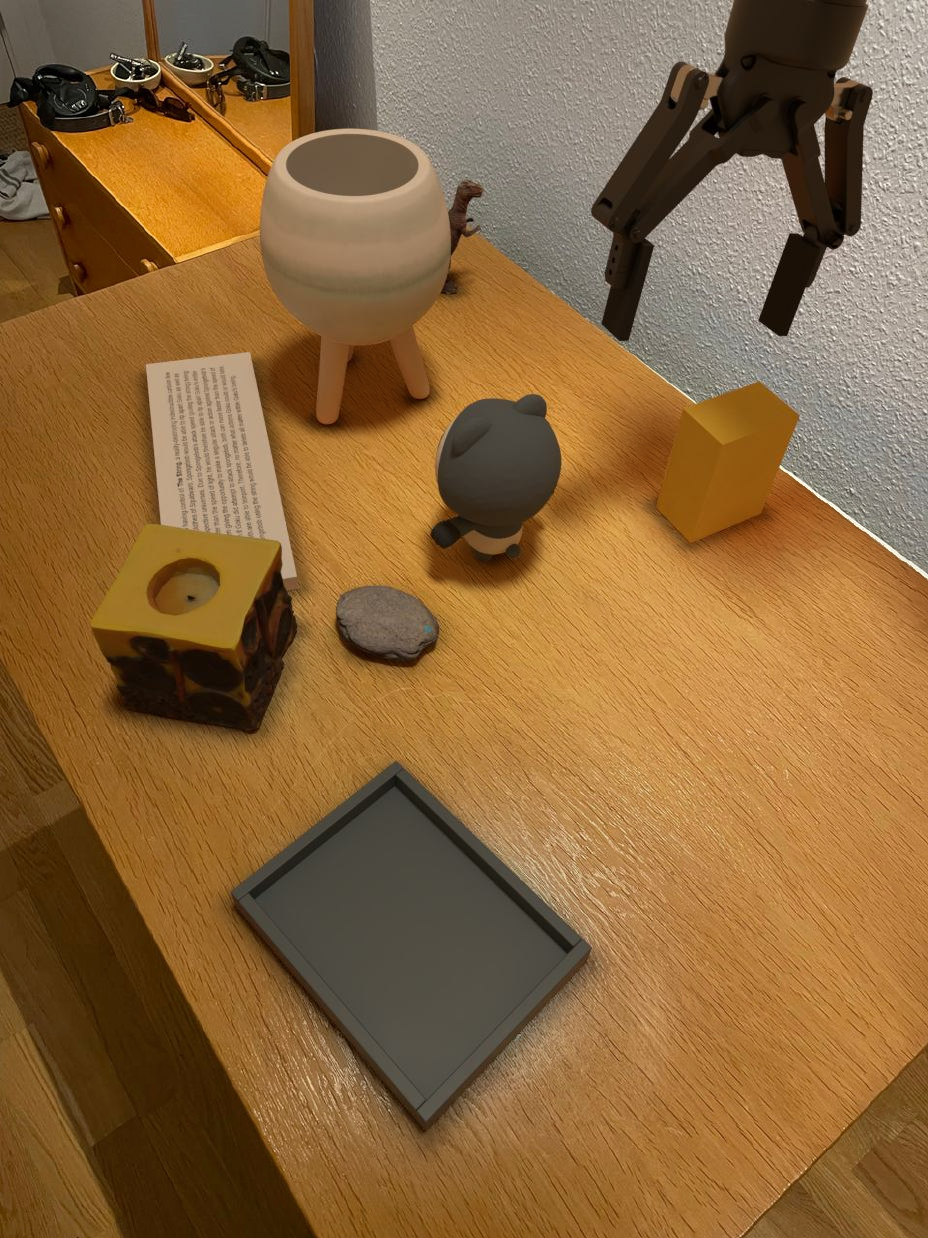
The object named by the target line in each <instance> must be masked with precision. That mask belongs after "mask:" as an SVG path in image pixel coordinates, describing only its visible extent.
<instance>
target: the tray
mask: <svg viewBox="0 0 928 1238" xmlns="http://www.w3.org/2000/svg"><path fill="white" fill-rule="evenodd" d="M230 895H231V898H232V901H233V903H234V906H235V908H236V909H237V910H238V912H239V913H240V914H241V915H242V916H243V917H244V918H245V920H246V921H247V922H248V923H249V924H250V926H251V927H252V928H253V929H254V931H256V933H257V934H258V936H260V938H261V939H262V940H263V942H265V943H266V945H267V946H268V947H269V949H271V950H272V952H273V953H274V954H275V955H276V956H277V958H278V959H279V960H280V962H282V964H283V965H284V966H285V967H286V968H287V970H288V971H289V972H290V973H291V974H292V976H293V977H294V978H295V980H297V981H298V983H299V984H300V985H301V986H302V987H303V988H304V990H305V991H306V992H307V993H308V994H309V995H310V997H311V998H312V999H313V1000H314V1002H315V1003H316V1004H317V1005H318V1006H319V1008H320V1009H321V1010H322V1011H323V1013H325V1014H326V1016H327V1017H328V1018H329V1019H330V1020H331V1022H332V1023H333V1024H334V1025H335V1026H336V1027H337V1029H338V1030H339V1031H340V1032H341V1033H342V1035H343V1036H344V1037H345V1038H346V1040H347V1041H348V1042H349V1043H350V1044H351V1045H352V1047H353V1048H354V1049H355V1050H356V1051H357V1053H358V1054H359V1055H360V1056H361V1057H362V1058H363V1060H364V1061H365V1062H366V1063H367V1064H368V1065H369V1067H370V1068H371V1070H373V1071H374V1072H375V1074H376V1075H377V1076H378V1078H379V1079H380V1080H381V1081H382V1082H383V1084H384V1085H386V1087H387V1088H388V1089H389V1090H390V1091H391V1093H392V1094H393V1096H395V1097H396V1099H397V1100H398V1101H399V1102H400V1103H401V1105H402V1106H403V1107H404V1108H405V1109H406V1110H407V1112H408V1113H409V1114H410V1115H411V1116H412V1118H413V1119H414V1120H415V1121H416V1123H418V1125H419V1126H420V1127H421V1128H422V1129H423V1131H424V1132H427V1131H428V1130H429V1129H430V1127H432V1125H434V1124H435V1123H436V1121H437V1120H438V1119H439V1118H440V1117H442V1115H443V1114H444V1113H445V1112H446V1111H447V1110H448V1108H450V1106H451V1105H452V1104H453V1103H454V1102H455V1101H456V1100H457V1099H458V1098H459V1097H460V1096H461V1095H462V1094H463V1093H464V1092H465V1091H466V1090H467V1088H469V1086H470V1085H471V1084H472V1083H473V1082H475V1080H476V1079H477V1078H478V1077H479V1076H480V1075H481V1074H482V1073H483V1071H485V1069H486V1068H487V1067H488V1066H489V1065H490V1064H491V1063H492V1062H493V1061H495V1059H496V1058H497V1057H498V1056H499V1055H500V1053H501V1052H503V1050H504V1049H506V1047H507V1046H508V1045H509V1044H510V1043H511V1042H512V1041H513V1040H514V1039H515V1038H516V1037H517V1036H518V1034H519V1033H520V1032H521V1031H523V1029H524V1028H525V1027H526V1026H527V1025H528V1024H529V1023H530V1022H531V1021H532V1020H533V1019H534V1017H536V1015H538V1013H540V1011H541V1010H542V1009H543V1008H544V1007H545V1006H546V1005H547V1004H548V1003H549V1002H550V1001H551V1000H552V999H553V998H554V996H556V994H557V993H558V992H559V991H561V989H562V988H563V987H564V986H565V985H566V984H567V983H568V982H569V981H570V980H571V978H572V977H573V976H574V975H576V973H577V972H578V971H579V970H580V969H581V968H582V967H583V966H584V965H585V964H586V963H587V961H588V960H589V957H590V954H591V951H592V949H593V947H592V945H590V943H588V942H587V941H586V939H584V938H583V937H582V936H581V935H580V934H579V933H578V932H576V931H575V930H574V929H573V928H572V927H571V926H570V925H569V924H568V923H567V922H566V921H565V920H564V919H563V918H562V917H561V916H560V915H559V914H557V912H556V911H554V909H553V908H551V907H550V906H549V904H547V903H546V902H545V901H544V900H543V899H542V898H541V897H540V896H539V895H538V894H537V893H535V891H533V889H532V888H530V887H529V886H528V885H527V884H526V883H525V882H524V881H523V880H522V879H521V878H520V877H519V876H518V875H517V874H516V873H515V872H514V871H513V870H511V869H510V867H509V866H508V865H507V864H505V863H504V862H503V860H501V858H499V857H498V856H497V855H496V854H495V853H494V852H493V851H492V850H491V849H489V847H488V846H487V845H486V844H484V842H482V840H480V838H478V837H477V836H476V835H475V834H474V833H473V832H472V831H471V830H470V829H469V828H467V827H466V825H465V824H463V823H462V822H461V820H459V819H458V818H457V817H456V816H455V815H454V814H453V813H452V812H451V811H450V810H448V808H447V807H446V806H444V805H443V804H442V803H441V801H439V799H438V798H436V797H435V796H434V795H433V794H432V793H431V791H429V790H428V789H426V787H425V786H424V785H423V784H422V783H420V782H419V780H417V779H416V778H415V777H414V776H413V775H412V774H411V773H410V771H408V770H407V769H406V768H405V767H404V766H403V765H402V764H401V763H400V762H399V761H398V760H395V761H394V762H392V763H391V764H390V765H388V766H387V767H386V768H385V769H383V770H382V771H381V772H380V773H378V774H377V775H376V776H374V777H373V778H372V779H371V780H370V781H368V782H367V783H365V785H362V787H360V788H359V789H358V790H357V791H355V792H354V793H353V794H351V796H349V797H348V798H347V799H345V801H343V802H342V803H341V804H339V805H338V806H337V807H335V808H334V809H333V810H332V811H330V812H329V813H328V814H327V815H325V816H324V817H323V818H322V819H320V820H319V821H318V822H316V823H315V824H313V826H311V827H310V828H309V829H308V830H306V831H305V832H304V833H303V834H301V835H300V836H299V837H298V838H296V839H295V840H293V842H291V843H290V844H289V845H287V846H286V847H285V848H284V849H282V850H281V851H280V852H278V853H277V854H276V855H275V856H273V858H271V859H269V861H267V862H266V863H264V864H263V865H262V866H261V867H259V868H258V869H257V870H256V871H254V872H253V873H252V874H251V875H249V876H248V877H247V878H246V879H244V880H243V881H242V882H241V883H239V884H238V885H237V886H235V888H233V889H232V890H231V891H230Z"/></svg>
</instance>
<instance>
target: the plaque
mask: <svg viewBox="0 0 928 1238" xmlns="http://www.w3.org/2000/svg"><path fill="white" fill-rule="evenodd" d="M145 371H146V381H147V391H148V401H149V414H150V423H151V424H150V425H151V433H152V445H153V455H154V466H155V475H156V485H157V486H156V487H157V495H158V496H157V498H158V507H159V517H160V519H159V520H160V525H166V526H172V527H178V528H184V529H190V530H197V531H204V532H211V533H219V534H227V535H236V536H244V537H252V538H260V539H268V540H276V541H279V542H280V543H281V546H282V564H283V565H282V569H281V574H282V579H283V583H284V585H285V587H286V590H287V592H288V591H295V590H299V589H300V588H299V581H298V580H299V579H298V575H297V570H296V565H295V561H294V555H293V551H292V546H291V542H290V536H289V533H288V532H289V531H288V527H287V522H286V517H285V513H284V508H283V503H282V497H281V493H280V489H279V483H278V479H277V475H276V470H275V464H274V460H273V455H272V451H271V450H272V449H271V447H270V446H271V445H270V441H269V436H268V432H267V426H266V423H265V422H266V421H265V416H264V413H263V407H262V403H261V398H260V394H259V389H258V384H257V383H258V382H257V379H256V375H255V370H254V364H253V360H252V355H251V351H246V352H239V353H238V352H237V353H229V354H228V353H227V354H221V355H213V356H203V357H196V358H186V359H179V360H170V361H162V362H153V363H145Z"/></svg>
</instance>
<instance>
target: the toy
mask: <svg viewBox="0 0 928 1238" xmlns="http://www.w3.org/2000/svg"><path fill="white" fill-rule="evenodd" d="M547 414H548V405H547V402H546V400H545V399H544V397H543V396H542V395H540V394H536V393H529V394H526V395H524V396H522V397H521V398H519V399H517V400H515V401H514V400H510V399H505V398H494V397H491V398H481V399H479V400H476V401H474V402H471V403H469V404H468V405H466V406H465V407H464V408H463V409H462V411H460V412H459V413H458V414H457V416H456V417H454V418H453V419H452V421H451V422H450V423H449V424H448V426H447V427H446V428H445V430H444V432H443V434H442V435H441V436H440V439H439V442H438V444H437V447H436V448H437V449H436V454H435V461H434V474H435V480H436V483H437V489H438V493H439V496H440V498H441V500H442V502H443V503H444V505H445V506H446V507H447V508H448V509H449V510H450V511H451V512H453V513H454V514H456V515H457V516H454V517H451V518H447V519H444V520H441V521H439V522H437V523H436V524H435V525H434V526H433V527H432V528H431V530H430V532H429V533H430V538H431V539H432V541H434V543H435V545H437V546H438V547H439V548H440V549H442V550H445V549H448V548H450V547H452V546H453V545H455V544H456V543H458V541H459V540H461V539H462V538H463V537H464V539H465V541H466V543H467V544H468V546H469V547H470V550H471V553H472V554H473V555H474V558H475V559H476V560H477V561H478V562H481V563H488V562H489V561H490V560H491V558H492V557H493V556H494V555H501V554H506V556H507V557H508V558H509V559H511V560H516V559H518V558H520V556H521V554H522V548H521V546H520V545H518V544H519V543H520V540H521V538H522V535H523V530H524V529H523V527H524V523H526V522H527V521H528V520H531V519H532V518H534V517H535V516H536V515H538V513H540V512H541V510H543V508H544V507H545V506H546V505H547V504H548V502H549V501H550V499H551V497H552V496H553V495H554V494H555V492H556V491H555V490H556V489H557V486H558V483H559V480H560V476H561V471H562V451H561V447H560V444H559V441H558V438H557V435H556V433H555V431H554V429H553V428H552V425H551V424H550V422H549V421H548V420H547V418H546V416H547Z"/></svg>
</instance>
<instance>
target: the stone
mask: <svg viewBox="0 0 928 1238" xmlns="http://www.w3.org/2000/svg"><path fill="white" fill-rule="evenodd" d="M335 615H336V620H337V624H338V628H339V633H340V636H341V637H342V639H343V640H344V641H345V642H346V643H348V644H350V645H352V646H353V647H355V648H358V649H359V650H361V651H363V652H365V653H367V654H370V655H372V656H375V657H378V658H383V659H387V660H390V661H392V662H395V661H399V662H402V663H405V662H406V663H407V662H410V661H414V660H416V659H417V658H418V657H419V656H420V653H421V652H422V651H423V649H425V648H426V647H428V646H431V645H432V644H434V643H436V642H437V641H438V638H439V633H440V625H439V623H438V620H437V617H436V615H434V614H433V613H432V611H431V610H430V609H429V608H428V606H426V605H425V604H424V602H422V600H420V599H418V598H417V597H416V596H414V595H412V594H409V593H406V591H404V590H402V589H397V588H394V587H392V586H388V585H381V584H380V585H364V586H359V587H356V588H353V589H351V590H347V591H346V592H343V594H341V595H340V597H339V598H338V600H337V603H336V608H335Z"/></svg>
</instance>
